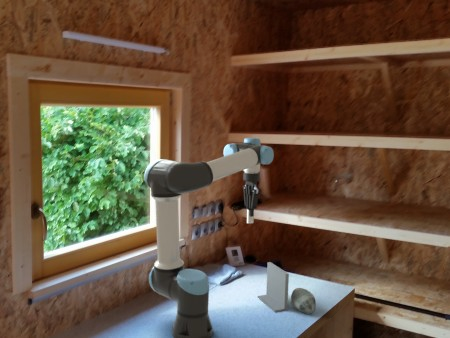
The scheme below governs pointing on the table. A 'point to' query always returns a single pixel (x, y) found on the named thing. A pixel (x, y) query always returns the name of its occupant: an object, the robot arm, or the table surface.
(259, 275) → the table surface
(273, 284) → the grey screen
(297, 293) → the grey streaked ovoid
